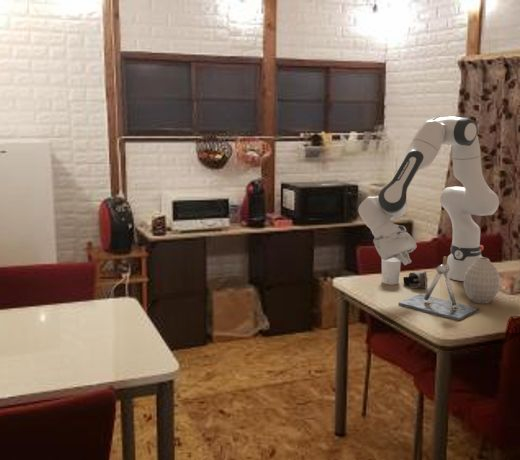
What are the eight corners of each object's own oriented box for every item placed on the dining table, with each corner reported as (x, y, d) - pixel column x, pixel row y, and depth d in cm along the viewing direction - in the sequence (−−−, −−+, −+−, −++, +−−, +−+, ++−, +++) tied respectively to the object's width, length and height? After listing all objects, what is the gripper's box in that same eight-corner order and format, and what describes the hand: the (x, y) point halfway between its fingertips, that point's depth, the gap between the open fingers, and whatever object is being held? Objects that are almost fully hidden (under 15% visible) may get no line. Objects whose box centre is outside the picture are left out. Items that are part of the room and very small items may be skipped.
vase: (501, 299, 230) (505, 257, 227) (493, 308, 220) (497, 264, 217) (467, 293, 237) (470, 252, 234) (458, 302, 227) (461, 259, 224)
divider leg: (423, 296, 224) (441, 262, 217) (430, 301, 222) (448, 267, 215) (421, 297, 223) (438, 263, 216) (428, 302, 221) (446, 268, 214)
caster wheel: (405, 287, 255) (429, 286, 251) (401, 289, 244) (427, 288, 241) (404, 271, 255) (428, 270, 251) (400, 272, 245) (425, 271, 241)
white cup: (376, 282, 253) (377, 259, 251) (388, 278, 259) (389, 256, 257) (392, 286, 248) (393, 262, 246) (403, 282, 253) (404, 259, 251)
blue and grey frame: (419, 296, 234) (422, 248, 230) (478, 310, 217) (482, 259, 214) (398, 305, 224) (400, 254, 220) (458, 320, 207) (462, 266, 203)
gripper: (376, 233, 221) (398, 264, 217) (406, 225, 236) (428, 254, 231) (366, 243, 225) (387, 273, 221) (396, 235, 240) (417, 263, 235)
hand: (408, 263), depth 226 cm, fingers closed
